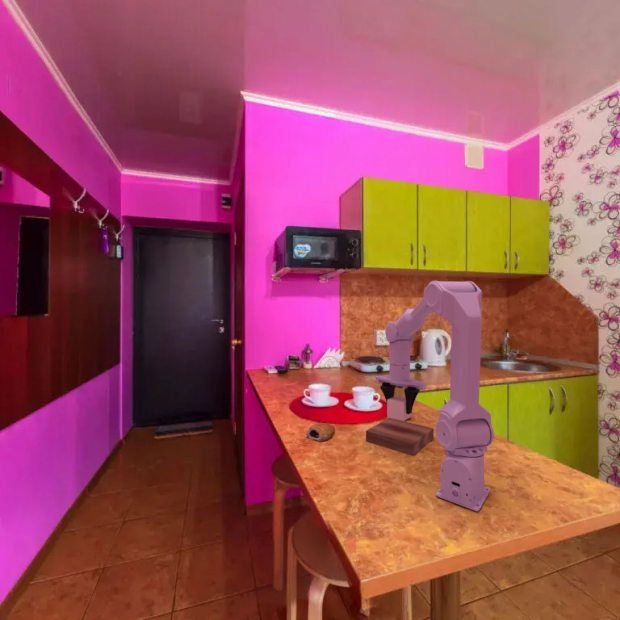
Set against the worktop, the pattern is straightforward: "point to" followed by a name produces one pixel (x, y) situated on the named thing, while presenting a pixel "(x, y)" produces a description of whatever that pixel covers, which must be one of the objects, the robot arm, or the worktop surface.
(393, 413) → the cube
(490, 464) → the worktop surface
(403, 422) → the base
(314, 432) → the pastry
